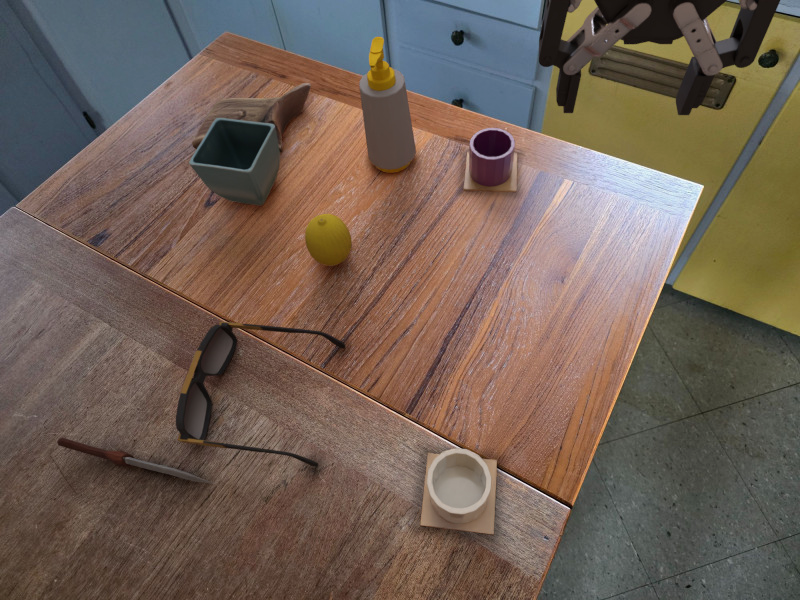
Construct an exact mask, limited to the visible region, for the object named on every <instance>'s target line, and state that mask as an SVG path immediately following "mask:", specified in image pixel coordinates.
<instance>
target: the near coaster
mask: <svg viewBox="0 0 800 600" xmlns="http://www.w3.org/2000/svg"><path fill="white" fill-rule="evenodd" d="M440 454H441V453H433V452H428V453H427V458H426V466H425V477H424V483H423V484H424V485H423V494H422V495H423V496H422V504H421V512H420V513H421V514H420V523H419V525H420V526H421V527H428V528H435V529H444V530H451V531H458V532H467V533H476V534H484V535H492V536H494V535H495V518H496V517H495V516H496V515H495V514H496V496H497V495H496V493H497V470H498V469H497V468H498V459H489V458H482V460H483V461H484V462H485V463H486V464H487V466H488V469H489V471H490V474H491V478H492V480H491V492H490V497H489V502H488V504H487V506H486V508H485V510H484V512H483V513H482V514H481V515H480V516H479V517H478V518H477V519H475V520H473V521H471V522H469V523H463V524H457V523H452V522H449V521H447V520H445V519H444V518H442V517H441V516H440V515H439V514H438V513H437V512H436V511H435V509H434V507H433V506H432V503H431V500H430V496H429V492H428V488H427V473H428V469H429V467H430V465H431V464H432V462H433V460H434V459H435V458H436V457H437V456H438V455H440Z"/></svg>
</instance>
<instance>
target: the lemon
mask: <svg viewBox="0 0 800 600" xmlns="http://www.w3.org/2000/svg"><path fill="white" fill-rule="evenodd" d="M304 233H305V234H304V240H305V246H306V249H307V251H308V253H309V255H310V256H311V257H312V258H313V259H314V261H315V262H317V263H318V264H321V265H323V266H326V267H327V266H329V267H332V266H337V265H339V264H342V263H343V262H345V261H346V259H347V258H348V256H349V254H350V253H351V250H352V246H353V245H352V244H353V242H352V235H351V232H350V230H349V227H348V226H347V224H346V223H345V222H344V221H343V220H342V218H341V217H338V216H337V215H335V214H332V213H321V214H318V215H316V216H314V217H313V218H312V219H311V220H310V221H309V222H308V224H307V226H306V228H305V232H304Z"/></svg>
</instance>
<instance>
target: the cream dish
mask: <svg viewBox="0 0 800 600" xmlns="http://www.w3.org/2000/svg"><path fill="white" fill-rule="evenodd" d="M439 454H440V455H438V456H437V457H436V458H435V459H434V460H433V462H432V464H431V465H430V467H429V469H428V473H427V488H428V492H429V496H430V500H431V503H432V506H433V507H434V509H435V511H436V512H437V513H438V514H439V515H440V516H441V517H442V518H444V519H445V520H447V521H449V522H452V523H457V524H463V523H469V522H471V521H473V520H475V519H477V518H478V517H479V516H480V515H481V514H482V513H483V512H484V510H485V508H486V506H487V504H488V502H489V497H490V492H491V480H492V478H491V474H490V471H489V469H488V466H487V464H486V463H485V462H484V461H483V460H482V459H483V458H482V457H481V456H480V455H479V454H477V453H475V452H474V451H472V450H470V449H467V448H459V447H454V448H451V449H450V448H449V449H447V450H443V451H442V452H441V453H439Z"/></svg>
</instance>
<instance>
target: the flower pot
mask: <svg viewBox="0 0 800 600" xmlns="http://www.w3.org/2000/svg"><path fill="white" fill-rule="evenodd" d="M188 164H189V166H190V167H191V168H192V169H193V171H194V172H195V174H196V175H197V176H198V177H199V178H200V180H201V181H202V182H203V184H204V185H205V186H206V187H207V188H208V189H209V190H210V191H211V192H212V193H214V195H215V194H216V195H217V196H219V197H221V198H223V199H224V200H227V201H230V202H234V203H239V204H245V205H252V206H264V204H265V203H266V201H267V199H268V197H269V195H270V192H271V190H272V188H273V186H274V184H275V182H276V180H277V177H278V173H279V170H280V164H281V153H280V151H279V145H278V139H277V134H276V129H275V125H274V124H270V123H261V122H252V121H243V120H236V119H227V118H216V119H215V120H214V121H213V123H212V125H211V126H210V128H209V130H208V132H207V133H206V135H205V137H204V138H203V140H202V142H201V143H200V145H199V146H198V148H197V149H195V151H194V152H193V154H192V156H191V158H190V159H189V162H188Z"/></svg>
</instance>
